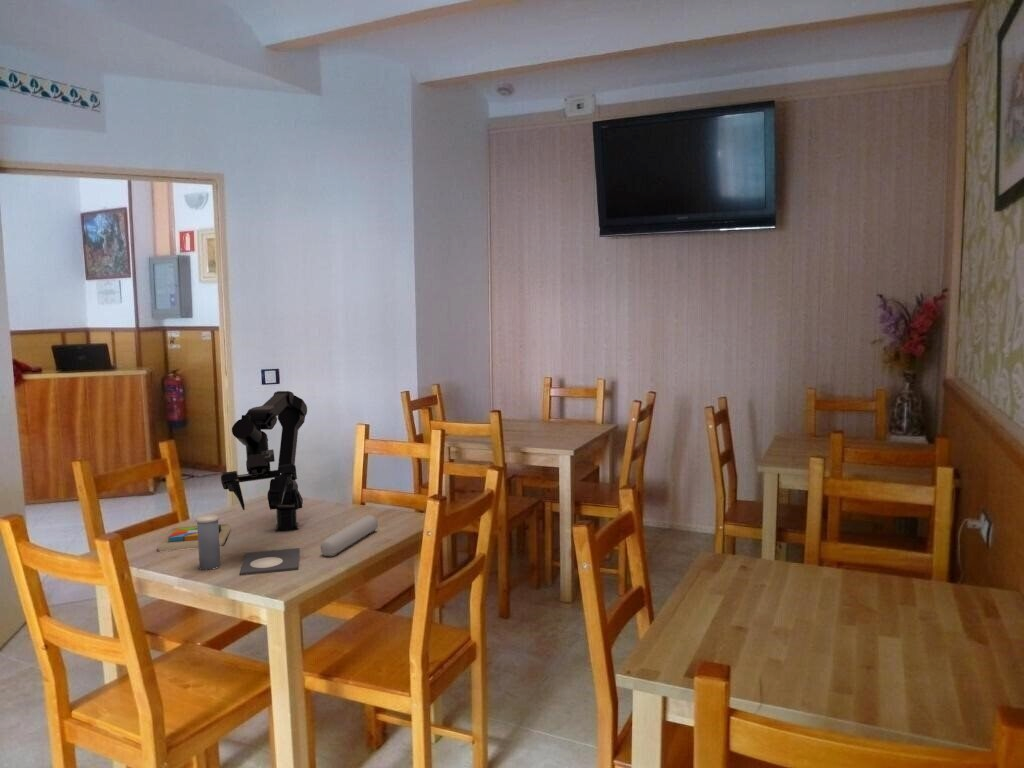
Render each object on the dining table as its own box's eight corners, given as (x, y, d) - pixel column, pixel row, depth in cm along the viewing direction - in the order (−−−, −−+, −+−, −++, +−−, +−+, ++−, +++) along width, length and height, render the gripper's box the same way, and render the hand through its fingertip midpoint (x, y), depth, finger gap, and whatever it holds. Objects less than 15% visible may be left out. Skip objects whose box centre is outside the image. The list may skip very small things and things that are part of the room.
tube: (336, 545, 196) (380, 518, 219) (319, 537, 197) (364, 511, 221) (331, 563, 197) (375, 534, 220) (314, 555, 198) (360, 527, 222)
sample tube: (200, 564, 193) (197, 515, 192) (222, 562, 194) (220, 513, 193) (197, 571, 188) (194, 520, 186) (220, 569, 189) (217, 519, 188)
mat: (245, 555, 200) (245, 552, 200) (299, 550, 203) (299, 547, 203) (239, 575, 184) (239, 572, 184) (298, 569, 188) (298, 566, 188)
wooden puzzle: (231, 529, 226) (231, 518, 225) (224, 548, 207) (224, 536, 207) (169, 534, 221) (168, 522, 221) (156, 554, 203) (155, 541, 203)
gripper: (216, 444, 191) (220, 501, 184) (292, 435, 196) (298, 490, 189) (222, 461, 200) (225, 516, 193) (293, 452, 206) (299, 505, 199)
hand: (262, 506), depth 194 cm, fingers open, 9 cm apart
